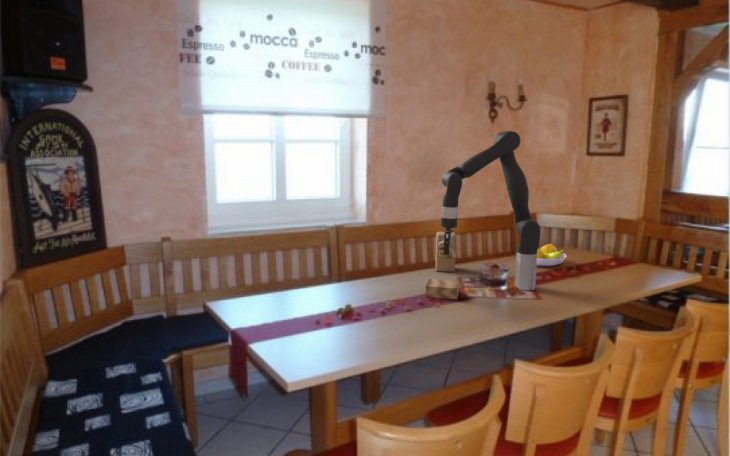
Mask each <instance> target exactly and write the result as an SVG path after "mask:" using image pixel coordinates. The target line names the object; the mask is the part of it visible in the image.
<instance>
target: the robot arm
mask: <svg viewBox="0 0 730 456" xmlns="http://www.w3.org/2000/svg"><path fill="white" fill-rule="evenodd" d="M521 142H522V141H521V136H520V134H518V132H516V131H513V130H508V131H500V132H498V133H497V134H496V135H495V137H494V143H493V145H491V146H490V147H488V148H485V149H484V150H482V151H480V152H478V153H476V154H474V155H472V156H471V157H470V158H468V159H467V160H465V161H463V162H462V163H461V164H459V165H457V166H455V167H453V168H451V169H449V170H448V171H446V172H445V173H444V174H443V175H442V178H441V183H442V185H443V186H444V187H446V192H445V193H444V194H443V196H442V205H441V206H442V207H441V212H440V213H441V214H440V227H442V228H444V230H443V232H444V246H445V247H444V254H445V255H449V248H450V245H451V243H450V242H451V240H452V235H453V232H454V230H453V229H455V228H457V227H458V223H459V222H458V220H459V197H460V194H461V192H462V191H461V190H462V187H463V180H464V179H467V178H470V177H473V176H474V175H476V174H477V173H478V172H479V171H481V170H482V169H484V168H485V167H487V166H488V165H490V164H491V163H493V162H495V161H496V160H498V159H499V162H500V164H501V170H502V173H503V176H504V180H505V186H506V189H507V194H508V197H509V201H510V204H511V208H512V211H513V217H514V223H515V229H516V230H515V231H516V233H517V234H518V235H519V236H520V238H519V244H518V246H516V258H515V270H514V272H515V274H514V275H515V276H514V287H515V286H516V287H517V288H518V289H517V288H516V289H517V290H520V291H535V290H536V282H537V278H536V277H537V266H536V260H537V250H538V248H539V247H540V241H541V226H540V224H539V223H538V222H537V221H535V220H534V219H533V218H532V215H531V211H530V209H529V208H530V207H529V195H530V194H529V193H530V192H529V191H530V190H529V185H528V181H527V178H526V175H525V173H524V171H523V170H522V168H521V166H520V164H519V163H518V161H517V159H516V156H515V150H517V149H518V148H519V147H520V144H521ZM446 241H448V243H446ZM539 249H540V248H539Z"/></svg>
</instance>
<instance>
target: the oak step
mask: <svg viewBox="0 0 730 456" xmlns="http://www.w3.org/2000/svg"><path fill="white" fill-rule="evenodd" d="M459 291H460V280H448V279H447V280H446V279H435V278H434V279H433V278H431V277H430V278H428V280H427V282H426V285H425V298H435V299H445V300H446V299H449V300H458V297H459Z"/></svg>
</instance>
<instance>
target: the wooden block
mask: <svg viewBox="0 0 730 456" xmlns="http://www.w3.org/2000/svg"><path fill="white" fill-rule="evenodd" d="M443 240H444V231H437V232H436V236H435V271H436V272H444V273H445V272H446V273H448V272H449V273H454V272H455V271H456V270H455V269H456V258H442V257H439V255H440V253H439V248H438V244H439V242H441V241H443ZM450 248H451V249H453V250H454V252H455V255H457V254H456V249H457V236H456V233H455V232H454V231H453V235H452V242H451V245H450Z"/></svg>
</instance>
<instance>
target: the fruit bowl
mask: <svg viewBox="0 0 730 456" xmlns="http://www.w3.org/2000/svg"><path fill="white" fill-rule="evenodd" d="M567 257H568V255H567V254H566V253H565V252H564V249H562V250H560V251H558V249H557V246H555V245H554V244H552V243H547V244H544V245H543V246H541V247H540V248H538V250H537V260H536V267H554V266H556V265H559V264H562V263H564V261H565V259H567Z"/></svg>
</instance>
